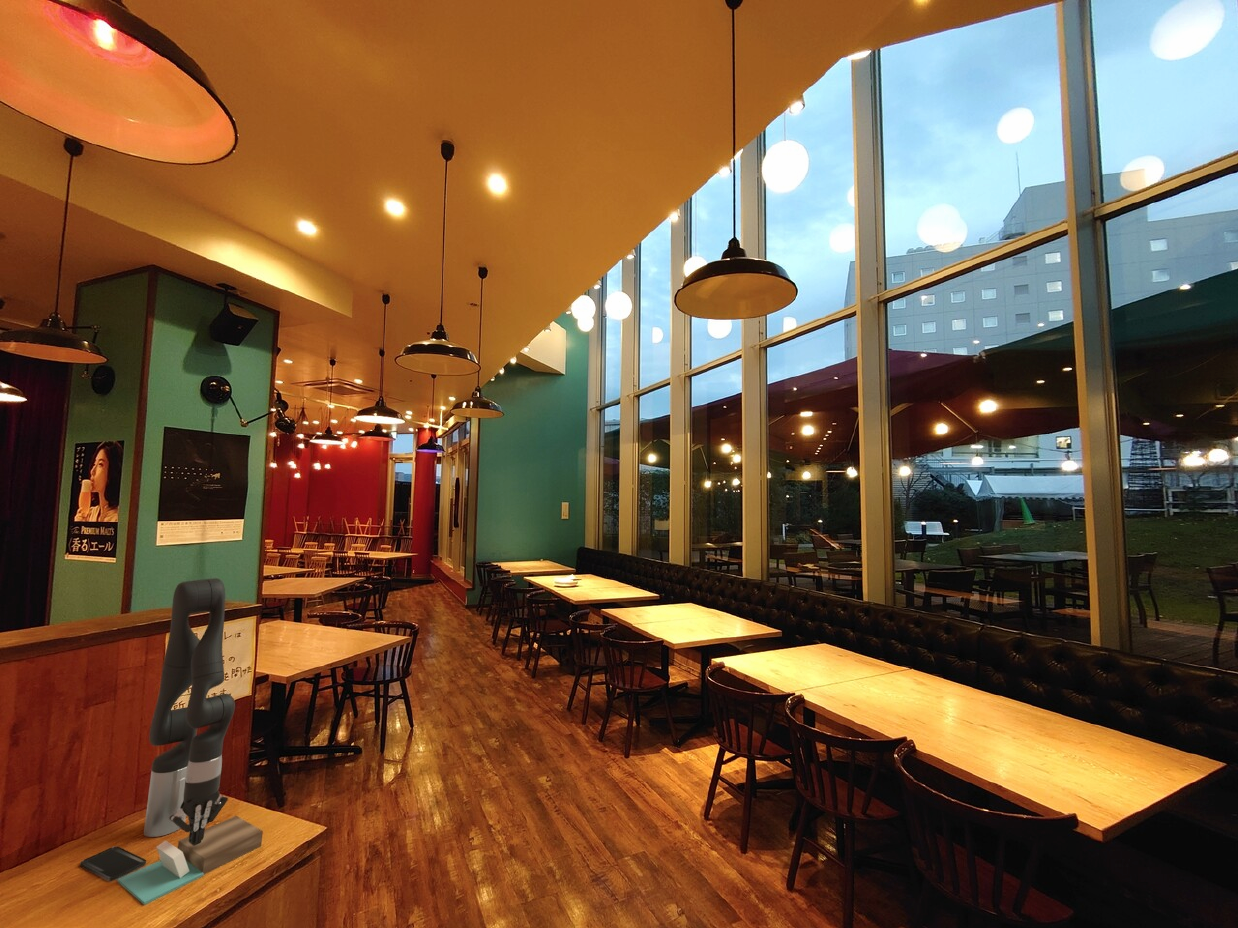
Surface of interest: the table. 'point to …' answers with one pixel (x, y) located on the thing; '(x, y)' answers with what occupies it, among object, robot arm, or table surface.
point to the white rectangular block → (173, 859)
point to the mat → (156, 881)
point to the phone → (113, 863)
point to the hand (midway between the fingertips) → (195, 843)
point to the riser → (222, 844)
